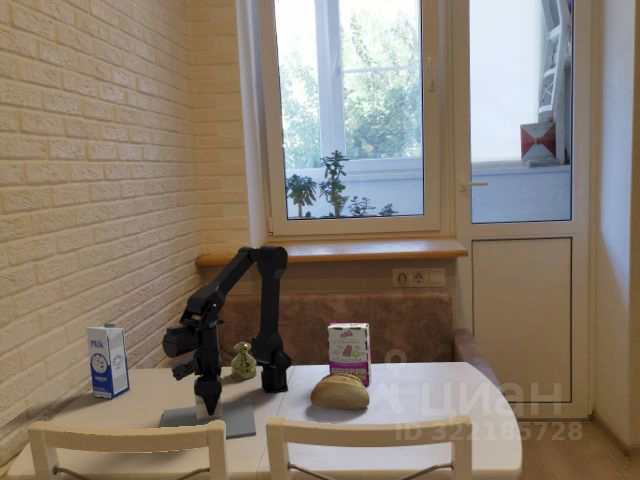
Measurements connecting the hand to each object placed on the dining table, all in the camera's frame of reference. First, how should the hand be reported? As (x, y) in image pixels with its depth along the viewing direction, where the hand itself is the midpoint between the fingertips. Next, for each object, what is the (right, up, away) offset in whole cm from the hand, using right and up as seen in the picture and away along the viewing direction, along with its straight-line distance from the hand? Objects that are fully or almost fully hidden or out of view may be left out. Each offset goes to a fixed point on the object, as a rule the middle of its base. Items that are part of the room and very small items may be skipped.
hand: (211, 406), depth 129 cm
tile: (0, -2, 0) cm, 2 cm away
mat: (0, -3, -2) cm, 4 cm away
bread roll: (+32, -1, +4) cm, 32 cm away
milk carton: (-32, -2, +19) cm, 37 cm away
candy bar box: (+35, +1, +19) cm, 40 cm away
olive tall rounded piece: (+4, 0, +27) cm, 28 cm away
